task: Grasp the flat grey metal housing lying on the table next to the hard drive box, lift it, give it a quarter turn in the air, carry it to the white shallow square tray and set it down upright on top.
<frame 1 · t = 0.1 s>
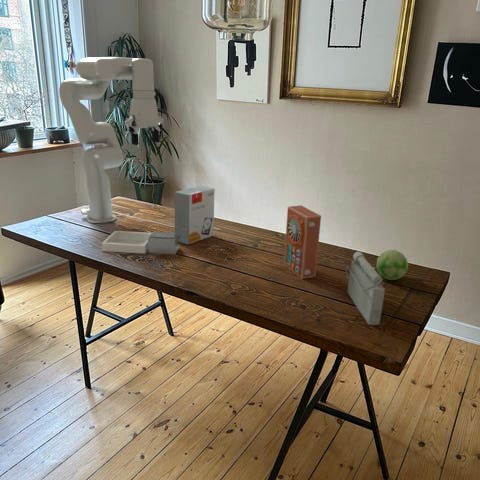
hand: (145, 143, 169), 37 cm above the table, tool pointing down, fingers open, 9 cm apart
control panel: (299, 271, 155), on the table
hard drive box: (194, 238, 183), on the table
stand: (129, 245, 173), on the table
housing: (163, 250, 169), on the table
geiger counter: (357, 303, 135), on the table
decorative ball: (389, 279, 151), on the table
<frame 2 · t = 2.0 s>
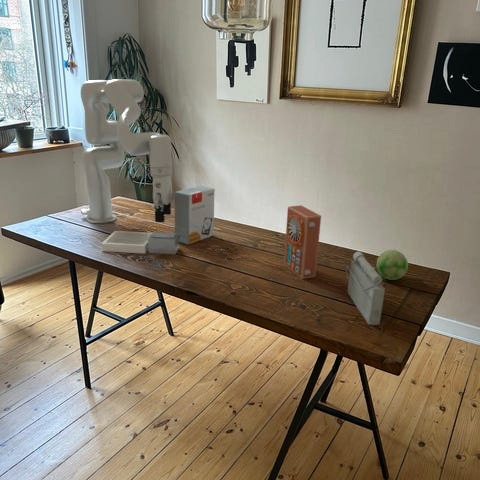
hand: (163, 218, 164), 13 cm above the table, tool pointing down, fingers open, 9 cm apart
nothing on the table moved.
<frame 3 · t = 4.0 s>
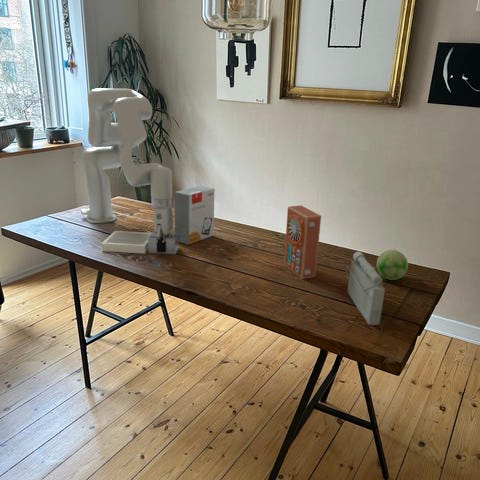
hand: (163, 248, 169), 1 cm above the table, tool pointing down, fingers closed on housing, 6 cm apart
housing: (163, 250, 169), on the table, touching gripper
everything else where it was.
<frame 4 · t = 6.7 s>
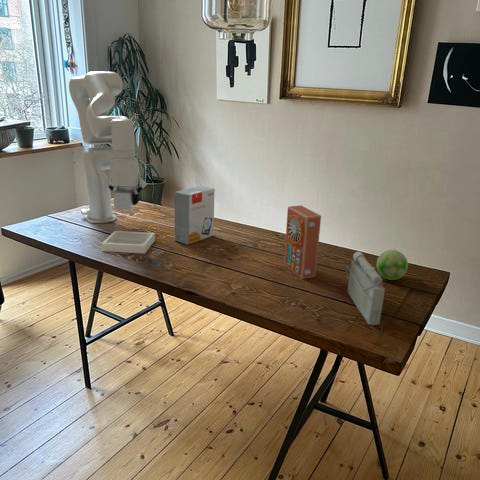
hand: (126, 203, 167), 17 cm above the table, tool pointing down, fingers closed on housing, 6 cm apart
housing: (127, 205, 167), point 16 cm above the table, touching gripper
everything else where it was.
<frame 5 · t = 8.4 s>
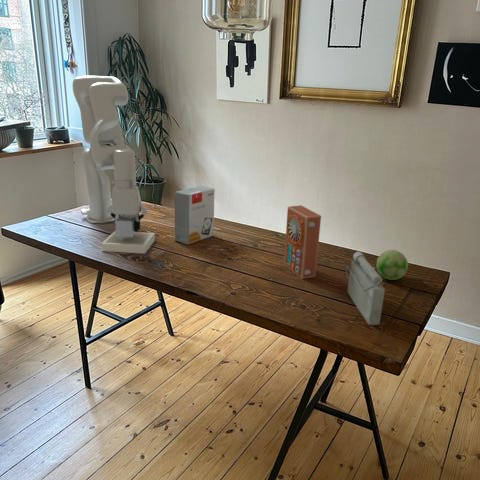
hand: (128, 229, 171), 6 cm above the table, tool pointing down, fingers closed on housing, 6 cm apart
housing: (128, 232, 171), point 5 cm above the table, touching gripper
everything else where it was.
when the fingers open (5 cm above the table, at t = 9.5 s): housing drops 1 cm, resting on stand.
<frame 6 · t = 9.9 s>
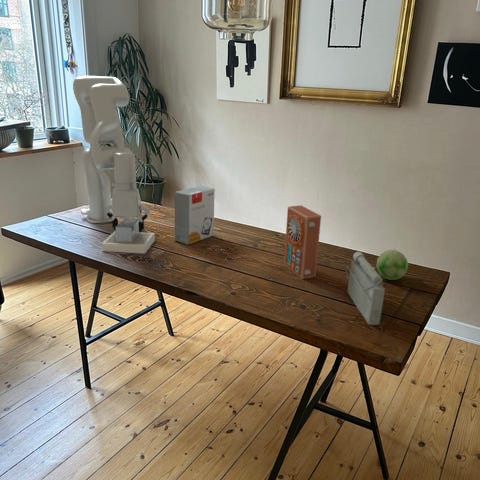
hand: (128, 230, 171), 6 cm above the table, tool pointing down, fingers open, 9 cm apart
housing: (128, 238, 172), point 3 cm above the table, touching stand
everything else where it was.
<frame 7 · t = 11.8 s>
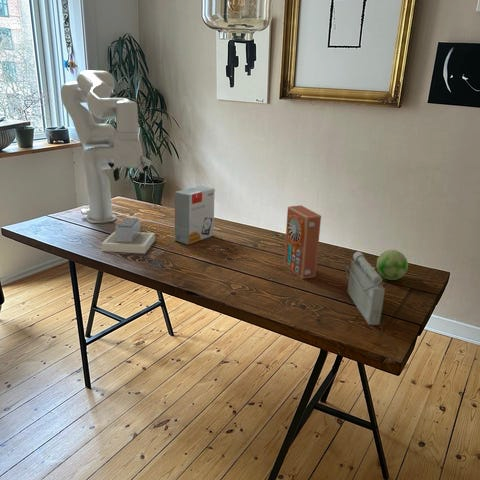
hand: (129, 181, 173), 23 cm above the table, tool pointing down, fingers open, 9 cm apart
nothing on the table moved.
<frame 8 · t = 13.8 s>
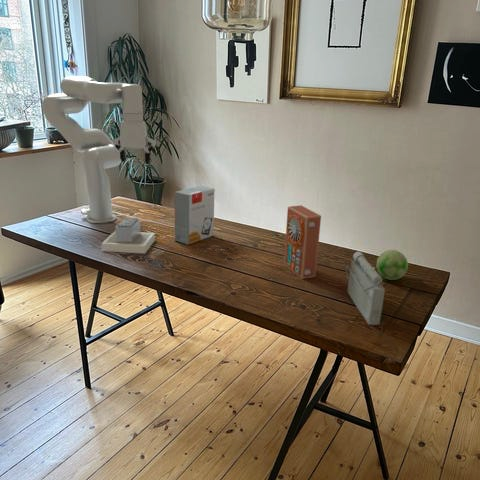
hand: (135, 162, 181), 28 cm above the table, tool pointing down, fingers open, 9 cm apart
nothing on the table moved.
at the end: housing inside the target area on the stand (0.1 cm from its centre), point 3.0 cm above the stand's base; housing tilted 0°; the gripper is holding nothing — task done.
